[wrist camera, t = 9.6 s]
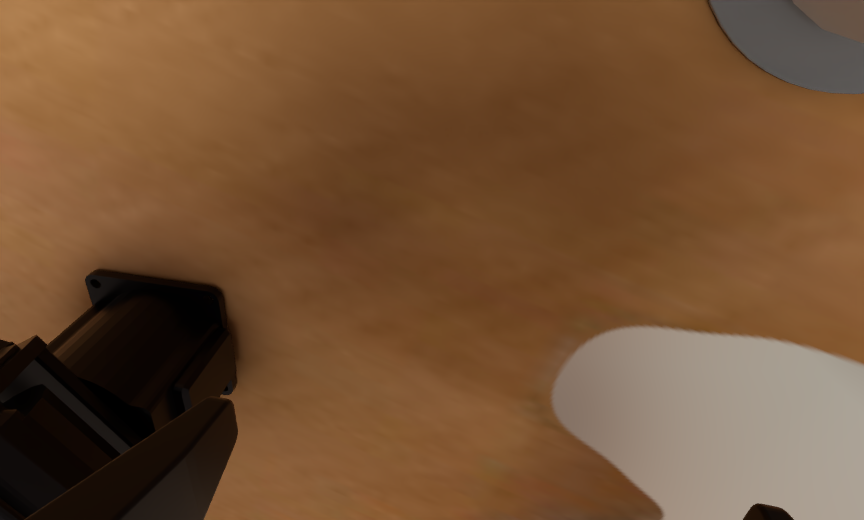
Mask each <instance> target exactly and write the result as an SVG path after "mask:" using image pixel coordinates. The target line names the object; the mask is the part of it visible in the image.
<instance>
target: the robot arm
mask: <svg viewBox="0 0 864 520" xmlns="http://www.w3.org/2000/svg"><path fill="white" fill-rule="evenodd" d="M98 281H99V282H100V283H99V282H98ZM85 282H86V285H87V289H88V292H89V295H90V298H91V302H92V305H93V306H92V307H91V308H89V309H88V310H87V311H86V312H85V313H84V314H83V315H81V316H80V317H79V318H78V319H77V320H76V321H75V322H73V323H72V324H71V325H70V326H69V327H68V328H66V329H65V330H64V331H63V332H62V333H61V334H60V335H58V336H57V337H56V338H55V339H54V340H53V341H51V342H50V343H49V344H48V345H47V344H46V343H45V342H44V341H43V340H42V339H40V338H39V337H38V336H37V335H35V336H33V337H31V338H29V339H27V340H25V341H24V342H22V343H20V344H18V345H16V344H14V343H13V342H7V341H3V340H0V520H203V519H204V517H205V515H206V513H207V510H208V508H209V506H210V503H211V501H212V498H213V496H214V494H215V491H216V489H217V486H218V484H219V481H220V479H221V477H222V474H223V472H224V469H225V467H226V465H227V462H228V460H229V457H230V455H231V452H232V450H233V448H234V445H235V443H236V439H237V435H238V428H237V422H236V415H235V409H234V404H233V402H232V401H231V400H229V399H225V398H220V395H221V394H223V395H229V394H231V393H232V392H233V390H234V389H235V387H236V378H235V372H236V364H235V357H234V351H233V344H232V337H231V333H230V331H229V330H228V327H227V320H226V314H225V307H224V301H223V296H222V293H221V292H220V291H219V290H218V289H216V288H215V287H211V286H205V285H198V284H191V283H184V282H177V281H170V280H163V279H156V278H149V277H142V276H135V275H128V274H121V273H114V272H107V271H100V270H95V271H93V272H91V273H90V274H89V275H88V276H86V278H85ZM208 296H210V297H211V298H213V300H212V299H210V298H209V297H208ZM743 520H794V519H793V518H792V517H791V516H790V515H789V514H788V513H787V512H786V511H785V510H783V509H781V508H779V507H775V506H770V505H765V504H755V505H753V506H752V507H751V508H750V510H749V511H748V513H747V514H746V515H745V517H744V519H743Z"/></svg>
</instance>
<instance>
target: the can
mask: <svg viewBox="0 0 864 520" xmlns="http://www.w3.org/2000/svg"><path fill="white" fill-rule="evenodd" d="M792 1H793V3H794V4H795V5H796V6H797V7H798V8H799V9H800V10H802V11H803V12H804V13H805V14H806V15H807V16H808V17H809V18H810V19H811V20H813V21H814V22H815V23H816V24H817V25H818V26H819V27H820V28H821V29H823V30H826V31H829V32H832V33H835V34H838V35H841V36H843V37H846V38H849V39H852V40H855V41H858V42H861V43H864V0H792Z"/></svg>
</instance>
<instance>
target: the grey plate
mask: <svg viewBox="0 0 864 520" xmlns="http://www.w3.org/2000/svg"><path fill="white" fill-rule="evenodd" d="M708 3H709V5H710V7H711V9H712V11H713V14H714V16H715V18H716V20H717V22H718V24H719V26H720V27H721V28H722V30H723V31H724V33H725V34H726V36H727V37H728V38H729V40H730V41H731V43H732V44H733V45H734V46H735V47H736V48H737V49H738V50H739V51H740V52H741V53H742V54H743V55H744V56H745V57H746V58H748V59H749V60H750V61H752V62H753V63H754V64H756V65H757V66H759V67H760V68H761V69H763V70H764V71H766V72H768V73H770V74H772V75H774V76H776V77H778V78H780V79H782V80H784V81H786V82H788V83H791V84H794V85H798V86H801V87H804V88H807V89H811V90H817V91H823V92H828V93H844V94H862V93H864V43H861V42H858V41H855V40H852V39H849V38H846V37H843V36H841V35H838V34H835V33H832V32H829V31H826V30H823V29H821V28H820V27H819V26H818V25H817V24H816V23H815V22H814V21H813V20H811V19H810V18H809V17H808V16H807V15H806V14H805V13H804V12H803V11H802V10H800V9H799V8H798V7H797V6H796V5H795V4H794V3H793V1H792V0H708Z"/></svg>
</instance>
